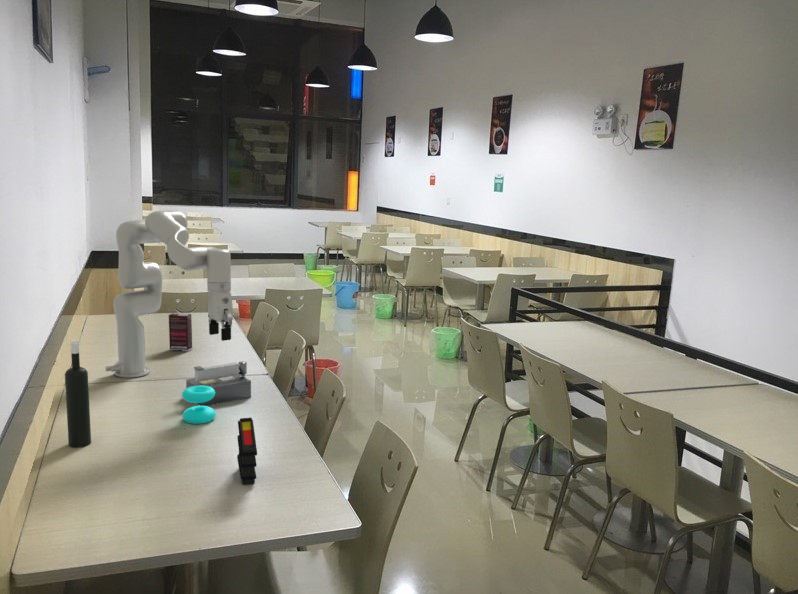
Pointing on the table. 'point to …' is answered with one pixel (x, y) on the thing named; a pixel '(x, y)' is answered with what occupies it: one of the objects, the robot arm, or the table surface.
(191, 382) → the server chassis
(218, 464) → the table surface
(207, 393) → the donuts
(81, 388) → the wine bottle
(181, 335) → the supplement box
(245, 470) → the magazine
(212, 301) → the robot arm
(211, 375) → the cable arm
